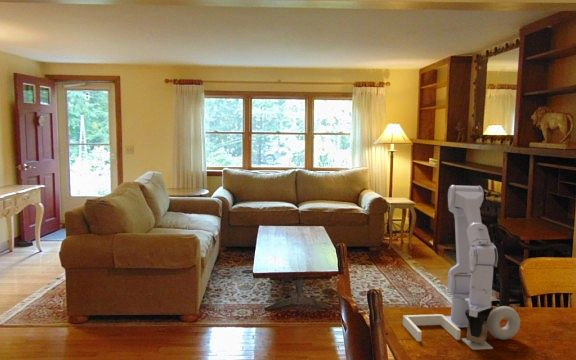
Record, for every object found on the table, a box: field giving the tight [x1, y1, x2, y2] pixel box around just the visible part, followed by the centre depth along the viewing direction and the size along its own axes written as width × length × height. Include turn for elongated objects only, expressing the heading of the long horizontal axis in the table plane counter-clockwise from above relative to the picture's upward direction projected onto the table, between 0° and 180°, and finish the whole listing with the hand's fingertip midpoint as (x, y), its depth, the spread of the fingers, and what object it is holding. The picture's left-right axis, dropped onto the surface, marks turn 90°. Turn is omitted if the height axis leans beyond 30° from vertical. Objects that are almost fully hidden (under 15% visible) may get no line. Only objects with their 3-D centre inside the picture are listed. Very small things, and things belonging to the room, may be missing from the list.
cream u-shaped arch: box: [402, 313, 462, 343], centre depth 136 cm, size 13×12×3 cm
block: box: [465, 321, 488, 344], centre depth 129 cm, size 4×4×5 cm
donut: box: [487, 305, 521, 341], centre depth 132 cm, size 10×3×10 cm, turn 98°
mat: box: [461, 337, 494, 350], centre depth 129 cm, size 6×6×1 cm
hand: (477, 333), depth 129 cm, fingers closed on block, 4 cm apart
